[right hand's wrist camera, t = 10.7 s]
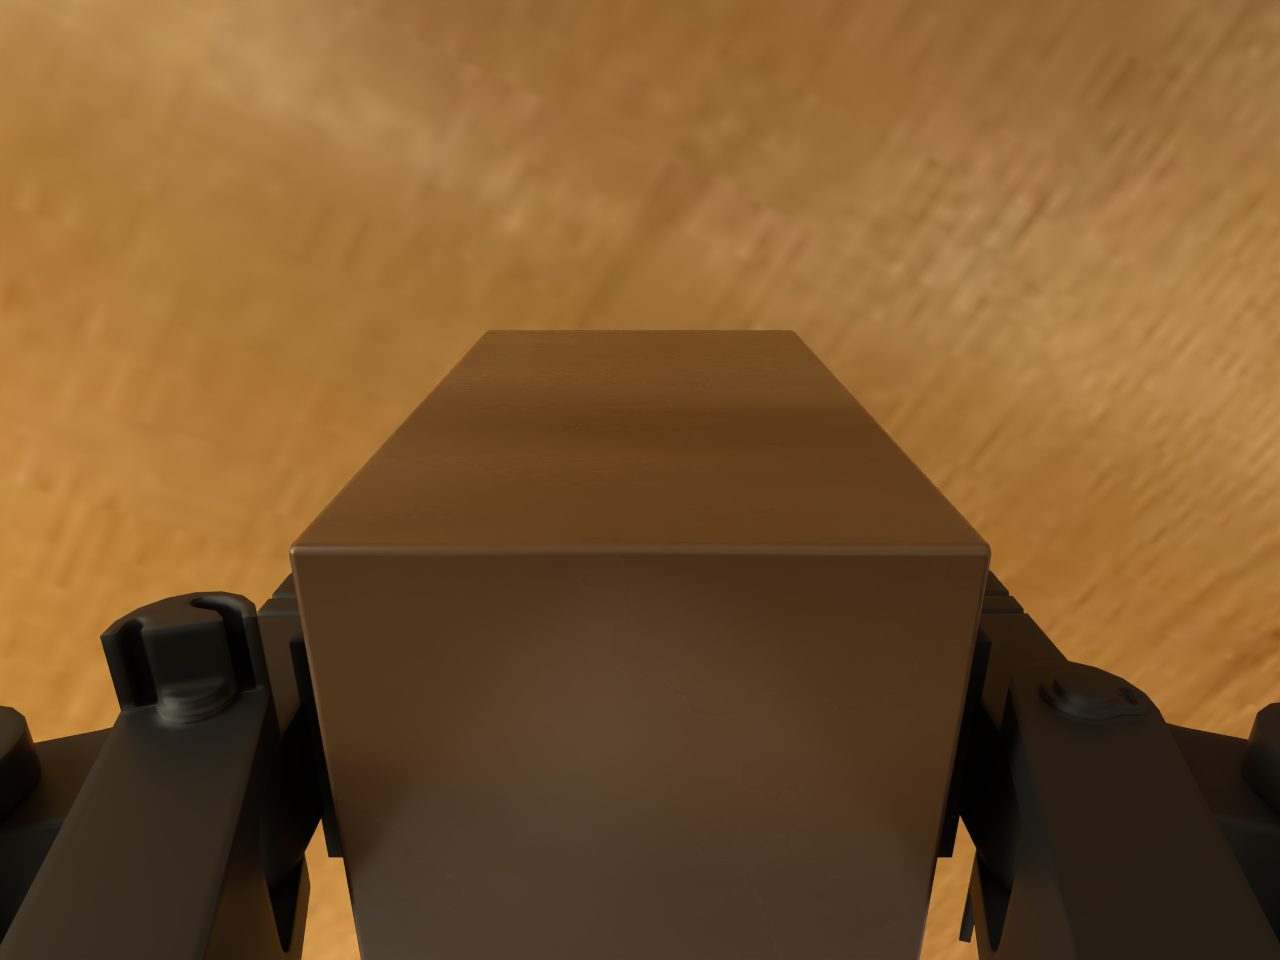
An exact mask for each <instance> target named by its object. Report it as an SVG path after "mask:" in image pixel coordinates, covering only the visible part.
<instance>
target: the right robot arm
mask: <svg viewBox="0 0 1280 960" xmlns="http://www.w3.org/2000/svg"><path fill="white" fill-rule="evenodd" d="M1023 610H1024V609H1023V608H1022V607H1021V605H1020V604H1019V603H1018V602H1017V601H1016V600H1015V598H1014V597H1013V596H1009V591H1008V590H1007V589H1006V588H1005V587H1004V586H1003V584H1002V583H1001V582H1000V581H999V580H998V579H997V577H996V576H995V575H994V574H993V573H992V572H991V571H990V570H988V576H987V581H986V587H985V593H984V598H983V604H982V609H981V615H980V621H979V626H978V632H977V638H976V643H975V649H974V655H973V660H972V666H971V671H970V677H969V683H968V688H967V694H966V700H965V705H964V711H963V717H962V722H961V728H960V733H959V739H958V745H957V750H956V756H955V762H954V767H953V773H952V779H951V784H950V790H949V795H948V801H947V807H946V812H945V818H944V824H943V829H942V835H941V841H940V846H939V852H938V857H952V854H953V849H954V843H955V838H956V833H957V827H958V822H959V817H960V816H961V818H962V820H963V822H964V824H965V826H966V828H967V830H968V832H969V834H970V836H971V839H972V841H973V843H974V845H975V847H976V853H975V858H974V863H973V868H972V873H971V878H970V883H969V888H968V893H967V898H966V903H965V908H964V913H963V918H962V923H961V930H960V937H959V940H960V941H964V942H969V943H970V941H971V937H972V932H973V927H974V925H975V932H976V939H977V947H978V955H979V960H1280V703H1272V704H1269V705H1268V706H1266V707H1265V708H1263V709H1262V710H1261V711H1259V712H1258V713H1257V716H1256V719H1255V722H1254V724H1253V727H1252V730H1251V733H1250V736H1249V739H1248V740H1247V739H1242V738H1237V737H1232V736H1226V735H1221V734H1216V733H1211V732H1206V731H1200V730H1195V729H1190V728H1185V727H1180V726H1176V725H1172V724H1168V723H1166V722H1165V720H1164V718H1163V717H1162V715H1161V713H1160V711H1159V709H1158V708H1157V707H1156V706H1155V704H1154V703H1153V702H1152V701H1151V700H1150V699H1149V697H1148V696H1147V695H1146V694H1145V693H1144V692H1142V691H1141V690H1139V689H1138V688H1136V687H1135V686H1133V685H1132V684H1130V683H1129V682H1127V681H1126V680H1124V679H1123V678H1120V677H1118V676H1116V675H1113V674H1111V673H1108V672H1106V671H1104V670H1101V669H1099V668H1096V667H1092V666H1088V665H1084V664H1079V663H1075V662H1071V661H1068V660H1067V659H1066V658H1065V657H1064V655H1063V654H1062V653H1061V652H1060V651H1059V650H1058V648H1057V647H1056V646H1055V645H1054V644H1053V643H1052V641H1051V640H1050V639H1049V638H1048V637H1047V636H1046V634H1045V633H1044V632H1043V631H1042V630H1041V629H1040V628H1039V626H1038V625H1037V624H1036V623H1035V622H1034V621H1033V619H1032V618H1031V617H1030V616H1029V615H1028V614H1027V613H1024V611H1023ZM100 638H101V642H102V645H103V649H104V652H105V656H106V659H107V663H108V666H109V670H110V673H111V677H112V680H113V684H114V687H115V691H116V694H117V698H118V701H119V705H120V708H121V712H120V714H119V716H118V718H117V720H116V722H115V724H114V726H113V727H111V728H107V729H103V730H99V731H94V732H89V733H84V734H78V735H73V736H68V737H63V738H58V739H53V740H48V741H42V742H37V743H33V740H32V737H31V734H30V731H29V728H28V725H27V722H26V719H25V716H23V715H22V714H20V713H19V712H18V711H16V710H15V709H14V708H12V707H5V706H0V960H301V957H302V949H303V941H304V934H305V926H306V918H307V910H308V902H309V895H310V881H309V874H308V868H307V863H306V858H305V853H304V852H305V850H306V848H307V846H308V844H309V842H310V840H311V838H312V836H313V834H314V832H315V830H316V828H317V826H318V824H319V821H320V819H322V824H323V830H324V835H325V840H326V846H327V851H328V857H343V854H342V849H341V843H340V837H339V832H338V826H337V820H336V815H335V809H334V804H333V798H332V792H331V787H330V781H329V775H328V770H327V764H326V758H325V753H324V747H323V742H322V736H321V730H320V725H319V719H318V713H317V708H316V702H315V696H314V691H313V685H312V679H311V674H310V668H309V663H308V657H307V651H306V646H305V640H304V634H303V629H302V623H301V617H300V612H299V606H298V601H297V595H296V589H295V584H294V578H293V573H291V574H290V575H289V576H288V577H287V578H286V579H285V580H284V582H283V583H282V584H281V585H280V586H279V587H278V589H277V590H276V591H275V592H274V593H273V594H272V599H268V600H267V602H266V603H265V604H264V605H263V606H262V607H261V609H260V610H259V611H258V615H257V612H256V607H255V604H254V603H253V602H251V601H250V600H249V599H247V598H246V597H244V596H243V595H238V594H233V593H228V592H223V591H221V592H195V593H190V594H185V595H180V596H175V597H170V598H166V599H163V600H160V601H157V602H155V603H152V604H149V605H146V606H143V607H140V608H138V609H136V610H134V611H133V612H131V613H129V614H127V615H126V616H124V617H122V618H120V619H118V620H117V621H115V622H114V623H113V624H112V625H111V626H110V627H109V628H108V629H107V630H106V631H105V632H104V633H103V634H102V635H101V636H100Z"/></svg>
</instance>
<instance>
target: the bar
mask: <svg viewBox="0 0 1280 960" xmlns="http://www.w3.org/2000/svg"><path fill="white" fill-rule="evenodd" d="M289 555H290V561H291V567H292V572H293V578H294V584H295V589H296V595H297V601H298V606H299V612H300V617H301V623H302V629H303V634H304V640H305V646H306V651H307V657H308V663H309V668H310V674H311V679H312V685H313V691H314V696H315V702H316V708H317V713H318V719H319V725H320V730H321V736H322V742H323V747H324V753H325V758H326V764H327V770H328V775H329V781H330V787H331V792H332V798H333V804H334V809H335V815H336V820H337V826H338V832H339V837H340V843H341V849H342V854H343V860H344V866H345V871H346V877H347V883H348V888H349V894H350V899H351V905H352V911H353V916H354V922H355V928H356V933H357V939H358V945H359V950H360V956H361V960H919V959H920V953H921V948H922V942H923V936H924V931H925V925H926V919H927V914H928V908H929V903H930V897H931V891H932V886H933V880H934V874H935V869H936V863H937V857H938V852H939V846H940V841H941V835H942V829H943V824H944V818H945V812H946V807H947V801H948V795H949V790H950V784H951V779H952V773H953V767H954V762H955V756H956V750H957V745H958V739H959V733H960V728H961V722H962V717H963V711H964V705H965V700H966V694H967V688H968V683H969V677H970V671H971V666H972V660H973V655H974V649H975V643H976V638H977V632H978V626H979V621H980V615H981V609H982V604H983V598H984V593H985V587H986V581H987V576H988V570H989V564H990V559H991V549H990V546H989V544H988V543H987V542H986V541H985V540H984V539H983V538H982V537H981V535H980V534H979V533H978V532H977V531H976V530H975V529H974V528H973V527H972V526H971V525H970V523H969V522H968V521H967V520H966V519H965V518H964V517H963V516H962V515H961V514H960V513H959V511H958V510H957V509H956V508H955V507H954V506H953V505H952V504H951V503H950V502H949V500H948V499H947V498H946V497H945V496H944V495H943V494H942V493H941V492H940V491H939V490H938V488H937V487H936V486H935V485H934V484H933V483H932V482H931V481H930V480H929V479H928V478H927V476H926V475H925V474H924V473H923V472H922V471H921V470H920V469H919V468H918V467H917V465H916V464H915V463H914V462H913V461H912V460H911V459H910V458H909V457H908V456H907V455H906V453H905V452H904V451H903V450H902V449H901V448H900V447H899V446H898V445H897V444H896V443H895V441H894V440H893V439H892V438H891V437H890V436H889V435H888V434H887V433H886V432H885V430H884V429H883V428H882V427H881V426H880V425H879V424H878V423H877V422H876V421H875V420H874V418H873V417H872V416H871V415H870V414H869V413H868V412H867V411H866V410H865V409H864V408H863V406H862V405H861V404H860V403H859V402H858V401H857V400H856V399H855V398H854V397H853V396H852V394H851V393H850V392H849V391H848V390H847V389H846V388H845V387H844V386H843V385H842V383H841V382H840V381H839V380H838V379H837V378H836V377H835V376H834V375H833V374H832V373H831V371H830V370H829V369H828V368H827V367H826V366H825V365H824V364H823V363H822V362H821V361H820V359H819V358H818V357H817V356H816V355H815V354H814V353H813V352H812V351H811V350H810V348H809V347H808V346H807V345H806V344H805V343H804V342H803V341H802V340H801V339H800V338H799V336H798V335H797V334H796V333H795V332H793V331H791V330H490V331H487V332H486V333H485V334H484V335H483V336H482V337H481V338H480V339H479V340H478V342H477V343H476V344H475V345H474V346H473V347H472V348H471V349H470V350H469V351H468V352H467V354H466V355H465V356H464V357H463V358H462V359H461V360H460V361H459V362H458V363H457V365H456V366H455V367H454V368H453V369H452V370H451V371H450V372H449V373H448V374H447V375H446V377H445V378H444V379H443V380H442V381H441V382H440V383H439V384H438V385H437V386H436V387H435V389H434V390H433V391H432V392H431V393H430V394H429V395H428V396H427V397H426V398H425V399H424V401H423V402H422V403H421V404H420V405H419V406H418V407H417V408H416V409H415V410H414V411H413V413H412V414H411V415H410V416H409V417H408V418H407V419H406V420H405V421H404V422H403V424H402V425H401V426H400V427H399V428H398V429H397V430H396V431H395V432H394V433H393V434H392V436H391V437H390V438H389V439H388V440H387V441H386V442H385V443H384V444H383V445H382V446H381V448H380V449H379V450H378V451H377V452H376V453H375V454H374V455H373V456H372V457H371V458H370V460H369V461H368V462H367V463H366V464H365V465H364V466H363V467H362V468H361V469H360V470H359V472H358V473H357V474H356V475H355V476H354V477H353V478H352V479H351V480H350V481H349V482H348V484H347V485H346V486H345V487H344V488H343V489H342V490H341V491H340V492H339V493H338V495H337V496H336V497H335V498H334V499H333V500H332V501H331V502H330V503H329V504H328V505H327V507H326V508H325V509H324V510H323V511H322V512H321V513H320V514H319V515H318V516H317V517H316V519H315V520H314V521H313V522H312V523H311V524H310V525H309V526H308V527H307V528H306V529H305V531H304V532H303V533H302V534H301V535H300V536H299V537H298V538H297V539H296V540H295V541H294V543H293V544H292V545H291V548H290V551H289Z"/></svg>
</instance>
